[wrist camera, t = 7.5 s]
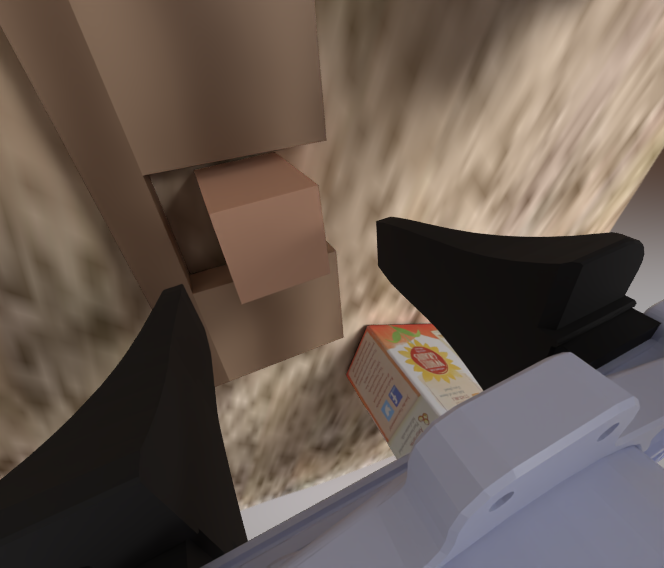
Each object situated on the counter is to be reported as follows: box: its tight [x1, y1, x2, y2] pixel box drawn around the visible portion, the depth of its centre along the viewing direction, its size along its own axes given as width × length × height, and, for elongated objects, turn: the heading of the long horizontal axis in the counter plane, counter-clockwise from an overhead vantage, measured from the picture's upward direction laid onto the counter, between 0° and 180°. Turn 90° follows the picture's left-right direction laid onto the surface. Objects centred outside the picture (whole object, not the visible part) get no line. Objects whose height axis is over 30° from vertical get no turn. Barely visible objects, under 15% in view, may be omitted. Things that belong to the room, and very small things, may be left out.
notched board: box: [0, 0, 343, 387], centre depth 16 cm, size 10×20×2 cm, turn 6°
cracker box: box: [346, 324, 483, 459], centre depth 23 cm, size 14×6×21 cm, turn 72°
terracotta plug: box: [194, 152, 330, 304], centre depth 15 cm, size 4×4×6 cm
